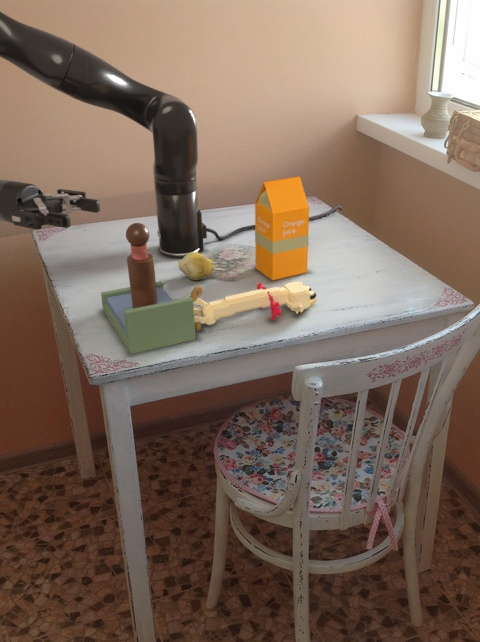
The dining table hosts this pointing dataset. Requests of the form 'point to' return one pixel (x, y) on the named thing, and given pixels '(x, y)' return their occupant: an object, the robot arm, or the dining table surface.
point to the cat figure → (253, 302)
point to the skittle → (141, 267)
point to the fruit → (196, 266)
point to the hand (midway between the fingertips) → (84, 213)
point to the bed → (149, 319)
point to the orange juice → (281, 228)
